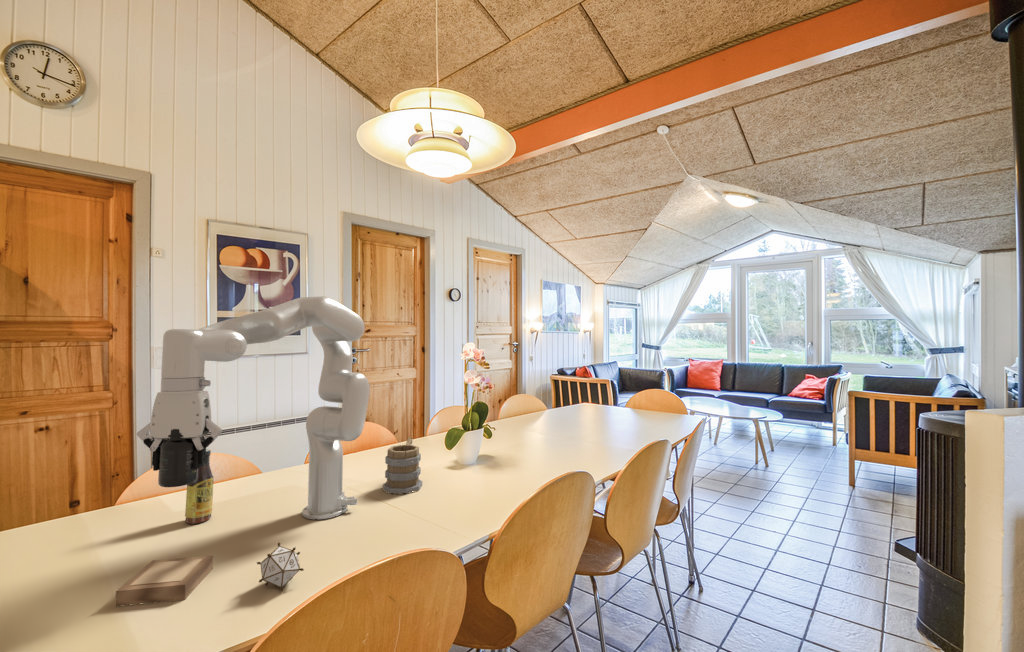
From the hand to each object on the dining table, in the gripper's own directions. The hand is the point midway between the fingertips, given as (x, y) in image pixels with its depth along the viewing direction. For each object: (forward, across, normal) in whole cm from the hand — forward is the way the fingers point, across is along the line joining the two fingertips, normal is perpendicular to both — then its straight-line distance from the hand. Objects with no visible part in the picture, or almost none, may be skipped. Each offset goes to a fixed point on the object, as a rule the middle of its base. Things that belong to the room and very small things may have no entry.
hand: (178, 467), depth 95 cm
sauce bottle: (+24, +11, -35) cm, 44 cm away
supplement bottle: (+3, 0, 0) cm, 3 cm away
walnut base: (+24, 0, +1) cm, 24 cm away
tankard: (+24, -46, -56) cm, 76 cm away
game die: (+25, -22, +5) cm, 34 cm away
